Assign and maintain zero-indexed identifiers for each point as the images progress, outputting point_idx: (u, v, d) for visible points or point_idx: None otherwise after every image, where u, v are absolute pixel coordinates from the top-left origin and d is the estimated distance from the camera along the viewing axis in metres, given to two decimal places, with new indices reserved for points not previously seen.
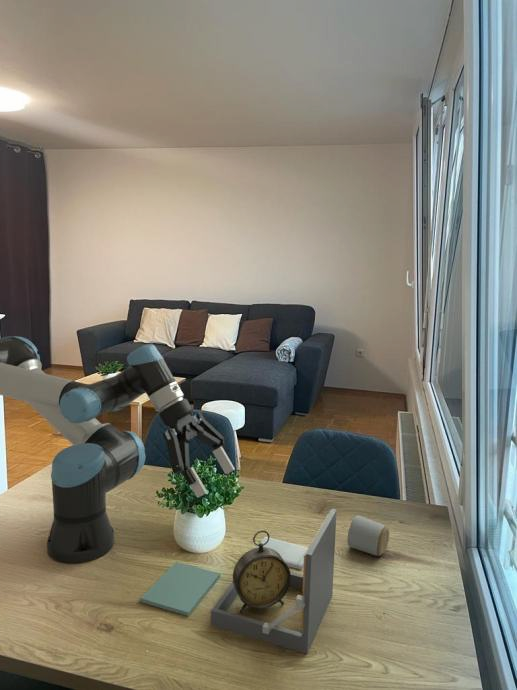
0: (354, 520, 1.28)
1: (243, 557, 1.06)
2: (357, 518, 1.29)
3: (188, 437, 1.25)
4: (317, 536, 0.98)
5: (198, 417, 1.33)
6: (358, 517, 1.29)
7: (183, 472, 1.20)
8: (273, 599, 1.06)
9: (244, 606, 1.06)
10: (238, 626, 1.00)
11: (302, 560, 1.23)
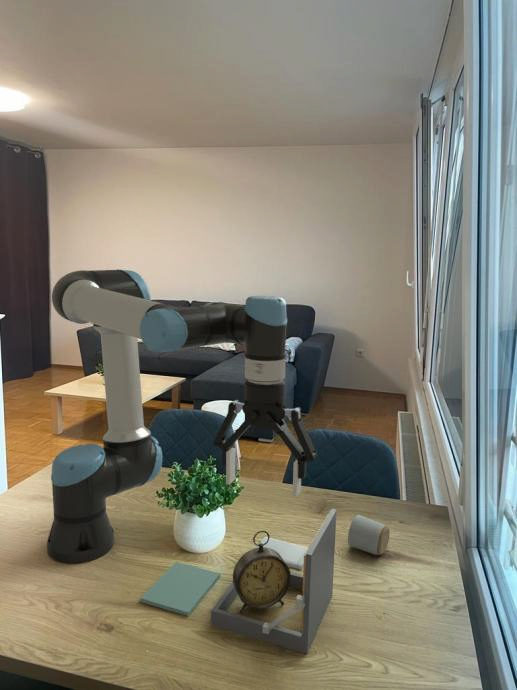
0: (354, 519, 1.29)
1: (243, 557, 1.06)
2: (357, 517, 1.29)
3: (246, 425, 1.02)
4: (317, 536, 0.98)
5: None
6: (358, 516, 1.30)
7: None
8: (273, 599, 1.06)
9: (244, 606, 1.06)
10: (238, 626, 1.00)
11: (302, 560, 1.23)
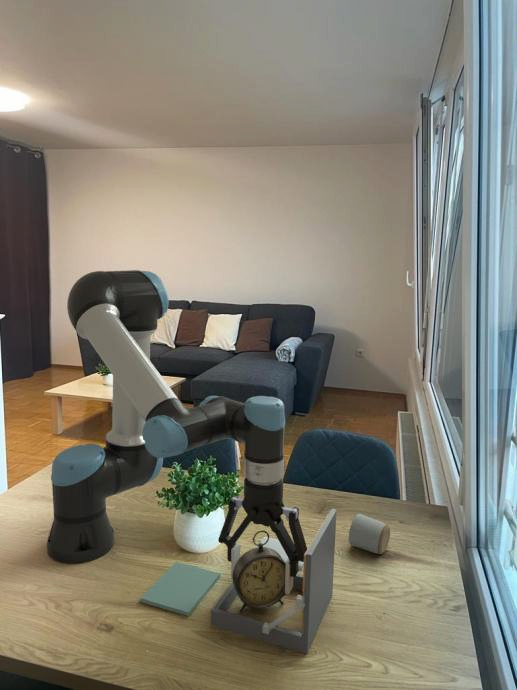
0: (355, 518, 1.29)
1: (243, 557, 1.06)
2: (358, 516, 1.30)
3: (247, 522, 1.04)
4: (317, 536, 0.98)
5: (289, 515, 1.02)
6: (359, 515, 1.30)
7: None
8: (273, 599, 1.07)
9: (244, 606, 1.06)
10: (238, 626, 1.00)
11: None
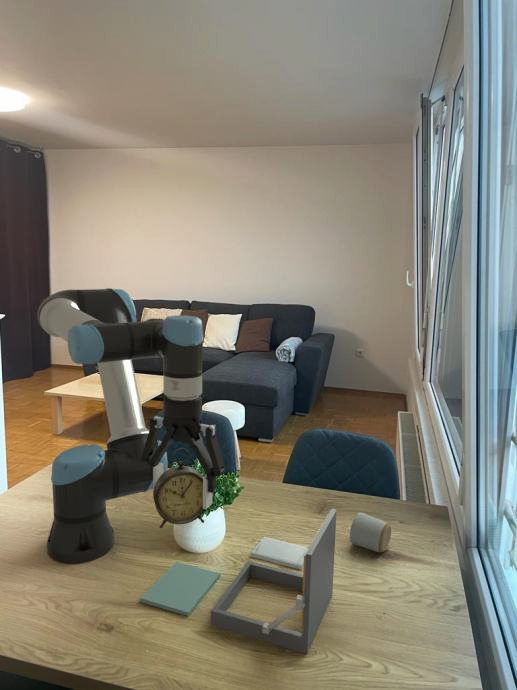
0: (356, 517, 1.30)
1: (163, 474, 1.08)
2: (359, 515, 1.30)
3: (167, 439, 1.07)
4: (317, 536, 0.98)
5: None
6: (360, 514, 1.31)
7: None
8: (192, 516, 1.09)
9: (163, 522, 1.08)
10: (238, 626, 1.00)
11: (301, 560, 1.23)
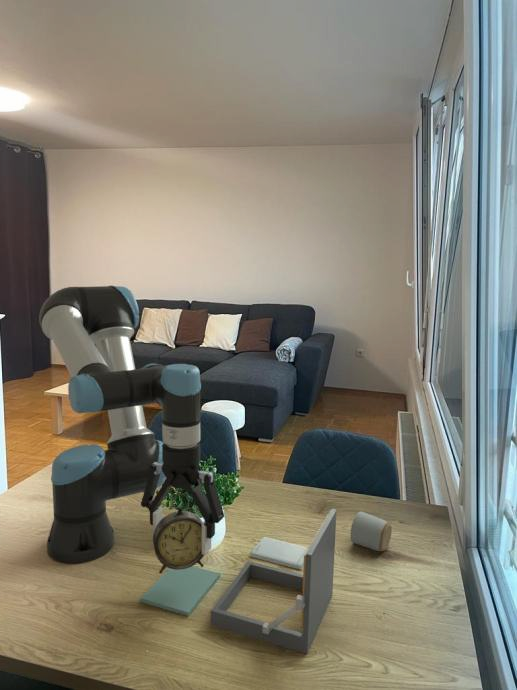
0: (357, 516, 1.30)
1: (162, 520, 1.10)
2: (360, 514, 1.31)
3: (166, 485, 1.08)
4: (317, 536, 0.98)
5: None
6: (361, 513, 1.31)
7: None
8: (192, 560, 1.10)
9: (163, 567, 1.10)
10: (238, 626, 1.00)
11: (301, 560, 1.23)
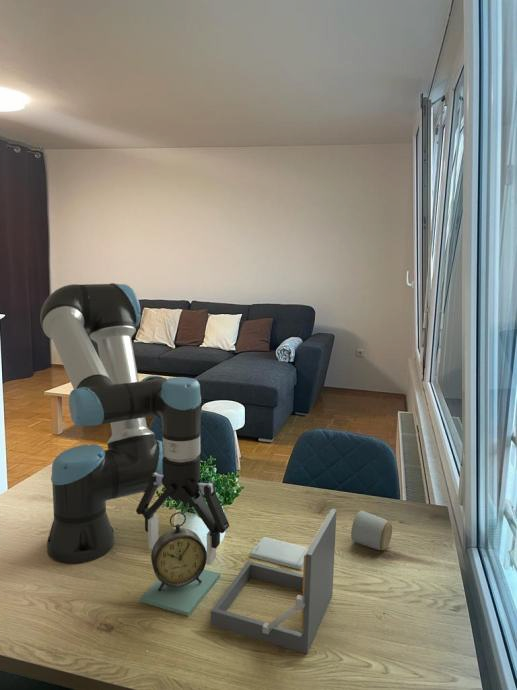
0: (358, 515, 1.31)
1: (161, 538, 1.11)
2: (361, 513, 1.31)
3: (164, 496, 1.09)
4: (317, 536, 0.98)
5: None
6: (362, 512, 1.32)
7: None
8: (190, 577, 1.12)
9: (162, 585, 1.11)
10: (238, 626, 1.00)
11: (301, 560, 1.23)
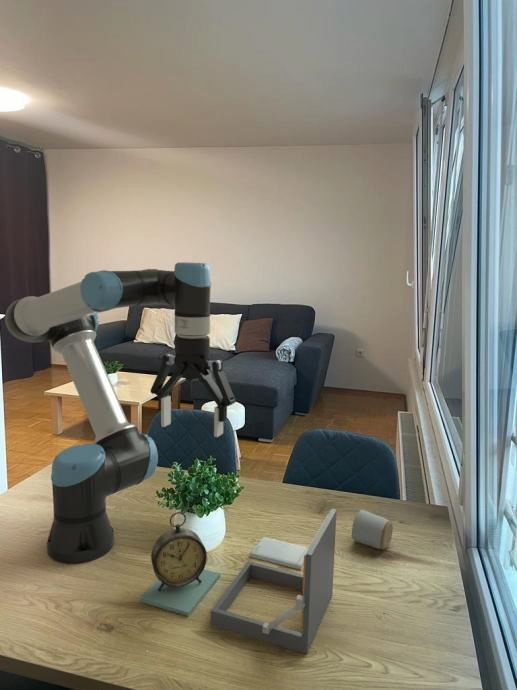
0: (358, 514, 1.31)
1: (161, 538, 1.11)
2: (361, 512, 1.32)
3: (176, 374, 1.17)
4: (317, 536, 0.98)
5: None
6: (362, 511, 1.32)
7: None
8: (190, 577, 1.12)
9: (162, 585, 1.11)
10: (238, 626, 1.00)
11: (301, 560, 1.23)
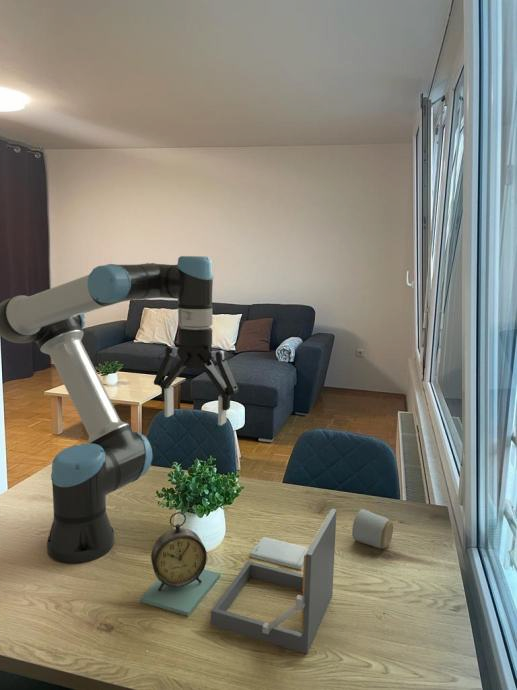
0: (359, 514, 1.32)
1: (161, 538, 1.11)
2: (362, 512, 1.32)
3: (180, 365, 1.20)
4: (317, 536, 0.98)
5: None
6: (363, 511, 1.33)
7: None
8: (190, 577, 1.12)
9: (162, 585, 1.11)
10: (238, 626, 1.00)
11: (301, 560, 1.23)
